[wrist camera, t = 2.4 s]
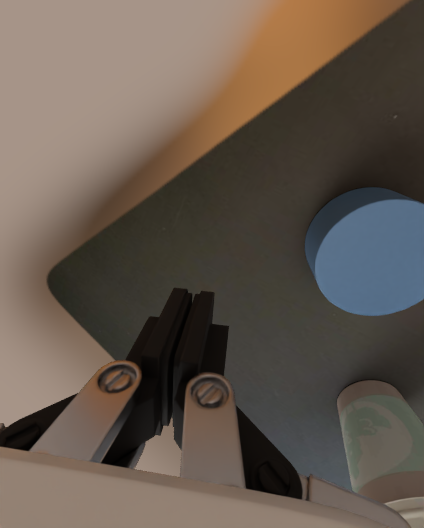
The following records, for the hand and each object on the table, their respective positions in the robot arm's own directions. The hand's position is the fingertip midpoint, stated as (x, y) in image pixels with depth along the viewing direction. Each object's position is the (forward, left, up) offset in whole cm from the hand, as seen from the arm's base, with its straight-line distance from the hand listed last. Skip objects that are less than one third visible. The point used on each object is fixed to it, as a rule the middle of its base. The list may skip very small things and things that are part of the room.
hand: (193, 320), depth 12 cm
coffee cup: (+13, +18, -12) cm, 25 cm away
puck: (-2, +10, -12) cm, 16 cm away
